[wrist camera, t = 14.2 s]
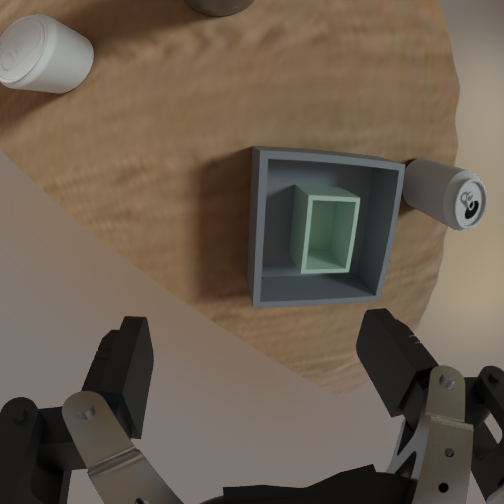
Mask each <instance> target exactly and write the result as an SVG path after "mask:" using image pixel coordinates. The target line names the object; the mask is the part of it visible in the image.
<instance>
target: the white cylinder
mask: <svg viewBox="0 0 504 504" xmlns="http://www.w3.org/2000/svg"><path fill="white" fill-rule="evenodd" d="M93 58H94V51H93V47H92V44H91V42H90V41H89V40H88V39H87V38H86V37H84V36H82V35H81V34H79V33H77V32H76V31H74V30H72V29H71V28H69V27H67V26H66V25H64V24H62V23H60V22H58V21H57V20H55V19H53V18H51V17H49V16H47V15H44V14H35V15H28V16H24V17H22V18H20V19H18V20H16V21H15V22H14V23H12V24H11V25H10V26H9V27H8V28H7V29H6V30H5V32H4V33H3V34H2V36H1V37H0V82H1V83H2V84H3V85H4V86H6V87H8V88H12V89H23V90H33V91H42V92H51V93H65V92H68V91H70V90H72V89H74V88H76V87H77V86H78V85H79V84H80V83H81V82H82V81H83V80H84V79H85V78H86V76H87V75H88V73H89V71H90V69H91V67H92V63H93Z"/></svg>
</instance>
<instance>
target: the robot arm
mask: <svg viewBox="0 0 504 504" xmlns="http://www.w3.org/2000/svg"><path fill="white" fill-rule="evenodd" d="M185 1H186V2H187V3H188V5H189V6H190V7H191V8H193V9H194V10H196V11H198V12H200V13H202V14H206V15H210V16H227V15H232V14H235V13H238V12H240V11H242V10H244V9H246V8H247V7H248V6H249V5H250V4H252V3H253V1H254V0H185ZM356 350H357V355H358V357H359V359H360V361H361V363H362V364H363V366H364V368H365V370H366V371H367V373H368V375H369V377H370V379H371V380H372V382H373V384H374V386H375V388H376V390H377V391H378V393H379V395H380V397H381V399H382V401H383V402H384V404H385V406H386V408H387V410H388V412H389V414H390V416H391V417H395V416H399V415H402V414H403V415H404V416H405V419H404V421H403V422H402V425H401V429H400V433H399V437H398V440H397V444H396V447H395V451H394V454H393V457H392V460H391V463H390V465H389V467H388V469H387V470H386V472H376V471H375V468H374V465H373V464H371V465H367V466H364V467H360V468H357V469H352V470H348V471H344V472H340V473H338V474H336V475H334V476H331V477H329V478H327V479H325V480H323V481H321V482H318V483H316V484H314V485H311V486H309V487H305V488H293V487H280V486H268V485H255V486H240V487H223V493H224V495H223V496H220V497H215V498H213V499H210V500H207V501H205V502H203V503H200V504H466V498H467V492H468V486H469V478H470V470H471V471H472V473H473V475H474V478H475V479H476V482H477V484H478V486H479V488H480V490H481V492H482V494H483V497H484V499H485V501H486V504H504V372H503V371H502V370H501V369H500V368H498V367H495V366H486V367H484V368H483V369H482V370H481V372H480V374H479V375H478V377H463V376H462V374H461V373H460V372H459V371H457V370H456V369H454V368H452V367H450V366H444V365H441V366H439V365H438V364H437V362H436V361H435V360H434V358H433V357H432V356H431V355H430V353H429V352H428V351H427V350H426V348H425V347H424V346H423V345H422V343H420V341H419V340H418V338H417V337H415V336H414V333H413V332H412V331H411V330H410V329H409V327H408V326H406V325H405V324H403V323H402V322H400V321H399V320H396V319H395V318H394V317H393V316H392V314H391V313H390V312H389V311H388V310H387V309H386V308H382V309H372V310H367V311H366V312H365V314H364V318H363V321H362V325H361V329H360V332H359V336H358V339H357V344H356ZM153 359H154V358H153V348H152V343H151V338H150V332H149V327H148V321H147V318H146V317H132V316H125V317H124V319H123V322H122V324H121V327H120V330H111V331H110V332H109V333H108V334H107V335H106V336H104V337H103V338H102V340H101V343H100V345H99V347H98V351H97V352H96V355H95V357H94V360H93V362H92V364H91V367H90V369H89V372H88V375H87V377H86V380H85V382H84V385H83V387H82V390H81V392H78V393H75V394H73V395H71V396H70V397H69V398H68V399H67V400H66V401H65V402H64V404H63V406H61V407H54V408H44V409H38V408H37V406H36V405H35V403H34V402H33V401H32V400H30V399H28V398H25V397H18V398H14V399H12V400H10V401H8V402H7V403H6V404H5V405H4V406H3V408H2V410H1V412H0V504H67V498H68V491H69V484H70V478H71V471H72V470H76V469H88V472H87V473H88V476H89V478H90V480H91V481H92V484H93V485H94V487H95V489H96V490H97V492H98V494H99V495H100V497H101V499H102V500H103V502H104V504H183V503H182V501H181V500H180V499H179V498H178V497H177V496H176V495H175V493H174V492H173V491H172V490H171V489H170V488H169V486H168V485H167V484H166V483H165V482H164V480H163V479H162V478H161V477H160V476H159V474H158V473H157V472H156V471H155V469H154V468H153V467H152V465H151V464H150V463H149V461H148V460H147V459H146V458H145V456H144V455H143V454H142V452H141V451H140V450H137V449H136V447H135V446H134V445H133V443H132V442H131V438H135V439H141V435H142V428H143V421H144V415H145V409H146V403H147V397H148V392H149V386H150V381H151V375H152V370H153V362H154V360H153ZM490 413H491V414H492V415H493V417H494V418H495V420H496V421H497V423H498V425H499V426H500V428H501V430H502V439H501V441H500V443H499V444H497V442H496V440H495V439H494V437H493V435H492V434H491V432H490V430H489V429H488V427H487V426H486V424H485V422H484V420H485V419H486V418H487V417H488V415H489V414H490Z"/></svg>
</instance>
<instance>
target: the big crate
mask: <svg viewBox="0 0 504 504" xmlns="http://www.w3.org/2000/svg"><path fill="white" fill-rule="evenodd" d="M404 172H405V164H402V163H398V162H395V161H391V160H387V159H384V158H380V157H375V156H368V155H360V154H352V153H343V152H333V151H323V150H311V149H298V148H282V147H262V146H252V160H251V185H250V210H249V236H248V262H247V283H248V287H249V292H250V297H251V302H252V307H253V308H266V307H291V306H311V305H328V304H343V303H357V302H370V301H379V300H380V296H381V292H382V288H383V284H384V280H385V276H386V272H387V268H388V263H389V259H390V254H391V250H392V245H393V240H394V235H395V230H396V224H397V219H398V213H399V207H400V201H401V194H402V187H403V180H404ZM295 184H298V185H319V186H336V187H342V188H343V189H345V190H347V191H349V192H351V193H353V194H354V195H356V196H358V197H360V206H359V213H358V220H357V227H356V233H355V240H354V246H353V252H352V257H351V263H350V269H349V272H343V273H311V274H301V273H300V272H299V270H298V268H297V266H296V264H295V262H294V261H293V259H292V257H291V255H290V253H289V249H290V238H291V226H292V214H293V201H294V188H295Z"/></svg>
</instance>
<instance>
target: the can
mask: <svg viewBox="0 0 504 504" xmlns="http://www.w3.org/2000/svg"><path fill="white" fill-rule="evenodd" d="M402 194H403V197H404V200H405V201H406V202H407V203H408V205H410V206H412V207H413V208H415V209H417V210H419V211H421V212H423V213H425V214H427V215H428V216H430V217H432V218H434V219H436V220H438V221H440V222H441V223H443V224H445V225H447V226H449V227H450V228H452V229H454V230H463V229H467V230H469V229H472V228H474V227H475V226H476V225H477V224H479V222H480V221H481V219H482V218H483V216H484V213H485V211H486V206H487V192H486V188H485V186H484V184H483V183H482V182H481V181H480V180H479V179H478V177H477V176H476V175H475V174H474V173H473V172H471V171H467V170H464V169H461V168H457V167H454V166H451V165H447V164H444V163H440V162H436V161H432V160H429V159H425V158H419V159H415V160H414V161H412V162H411V163H410V164H409V165H408V166H407V167H406V169H405V172H404V180H403V187H402Z"/></svg>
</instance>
